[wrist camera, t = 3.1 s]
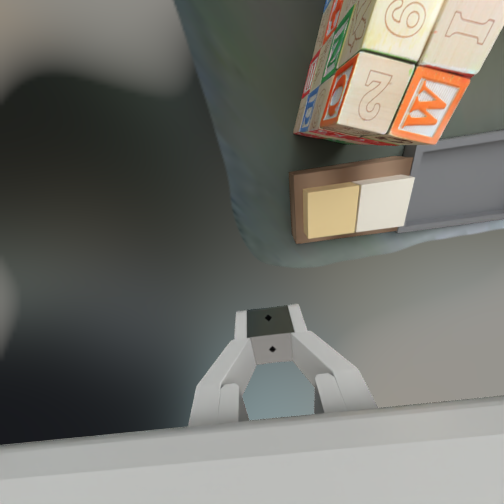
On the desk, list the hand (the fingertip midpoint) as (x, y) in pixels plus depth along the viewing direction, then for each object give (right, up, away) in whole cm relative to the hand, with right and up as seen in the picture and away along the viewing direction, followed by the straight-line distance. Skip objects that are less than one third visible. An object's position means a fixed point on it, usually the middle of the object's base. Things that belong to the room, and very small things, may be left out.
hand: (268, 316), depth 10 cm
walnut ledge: (+10, +10, +15) cm, 21 cm away
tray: (+24, +12, +14) cm, 31 cm away
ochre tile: (+8, +8, +13) cm, 17 cm away
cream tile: (+13, +9, +12) cm, 20 cm away
